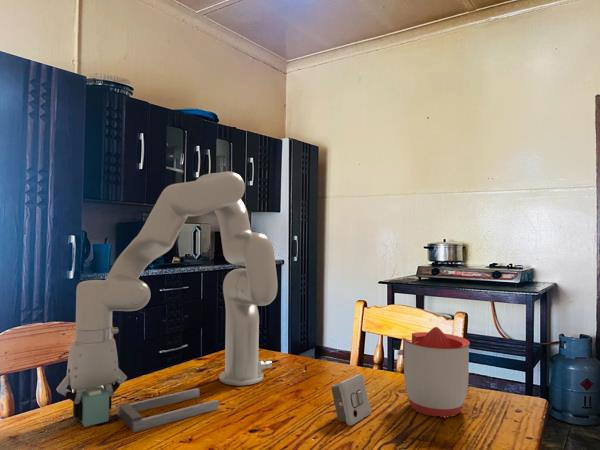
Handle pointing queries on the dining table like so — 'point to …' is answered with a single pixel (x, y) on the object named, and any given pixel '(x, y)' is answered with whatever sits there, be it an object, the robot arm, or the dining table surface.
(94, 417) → the block
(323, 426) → the dining table surface
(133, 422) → the rail channel
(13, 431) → the dining table surface
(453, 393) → the citrus juicer
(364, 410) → the electrical switch
